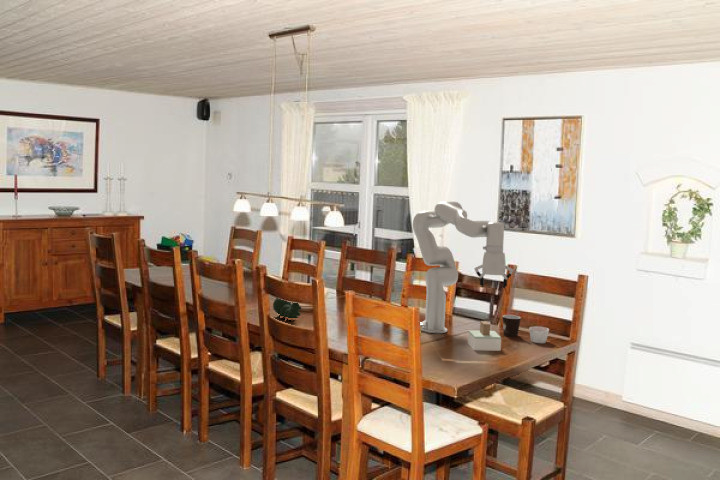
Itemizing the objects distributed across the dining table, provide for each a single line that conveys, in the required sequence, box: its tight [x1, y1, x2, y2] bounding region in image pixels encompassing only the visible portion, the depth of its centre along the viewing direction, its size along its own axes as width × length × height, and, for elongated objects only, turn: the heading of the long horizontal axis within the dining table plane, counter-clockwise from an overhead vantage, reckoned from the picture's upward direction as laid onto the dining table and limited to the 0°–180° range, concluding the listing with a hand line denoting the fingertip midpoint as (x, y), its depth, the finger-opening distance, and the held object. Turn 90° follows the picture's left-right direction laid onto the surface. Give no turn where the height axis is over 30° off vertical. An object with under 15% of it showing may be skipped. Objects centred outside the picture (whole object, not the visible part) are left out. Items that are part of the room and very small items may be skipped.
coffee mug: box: [502, 314, 521, 338], centre depth 331 cm, size 12×9×10 cm
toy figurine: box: [272, 297, 302, 318], centre depth 350 cm, size 9×19×25 cm
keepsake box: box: [467, 332, 502, 352], centre depth 306 cm, size 12×12×6 cm
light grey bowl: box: [529, 325, 550, 344], centre depth 323 cm, size 9×9×6 cm
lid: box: [468, 320, 502, 340], centre depth 305 cm, size 12×12×6 cm
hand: (493, 287), depth 308 cm, fingers open, 9 cm apart
